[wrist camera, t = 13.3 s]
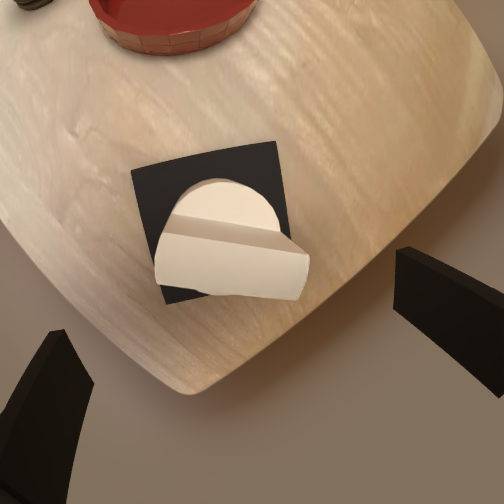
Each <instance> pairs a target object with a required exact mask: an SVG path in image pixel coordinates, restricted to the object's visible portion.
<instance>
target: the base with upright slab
mask: <svg viewBox="0 0 504 504" xmlns="http://www.w3.org/2000/svg"><path fill="white" fill-rule="evenodd" d="M154 261H155V280H156V283H157V284H160V285H167V286H174V287H181V288H188V289H195V290H197V291H199V292H202V293H206V294H210V295H232V294H235V295H244V296H253V297H262V298H271V299H281V300H291V301H297V299H298V298H299V297H300V295H301V292H302V290H303V288H304V285H305V283H306V281H307V276H308V270H309V263H310V258H309V255H308V254H307V253H306V252H305V251H303V250H302V249H301V248H300V247H299V246H297V245H296V244H295V243H294V242H292V241H291V240H290V239H289V238H288V237H286V236H285V235H284V234H283V233H281V232H280V225H279V221H278V218H277V216H276V214H275V212H274V210H273V208H272V207H271V205H270V204H269V203H268V202H267V201H266V199H265V198H264V197H263V196H261V195H260V194H259V193H257V192H256V191H254V190H253V189H251V188H249V187H247V186H245V185H242V184H240V183H237V182H234V181H231V180H228V179H219V178H213V179H208V180H204V181H201V182H199V183H197V184H195V185H193V186H191V187H190V188H189V189H188V190H186V191H185V192H184V193H183V194H182V195H181V196H180V198H179V200H178V201H177V203H176V204H175V206H174V208H173V210H172V212H171V214H170V217H169V219H168V221H167V223H166V225H165V227H164V230H163V232H162V234H161V236H160V239H159V242H158V246H157V250H156V254H155V258H154Z"/></svg>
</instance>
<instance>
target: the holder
mask: <svg viewBox="0 0 504 504" xmlns="http://www.w3.org/2000/svg"><path fill="white" fill-rule="evenodd" d="M131 175H132V180H133V185H134V189H135V194H136V198H137V203H138V207H139V211H140V215H141V219H142V223H143V227H144V231H145V235H146V239H147V242H148V246H149V250H150V253H151V257H152V260H153V264H154V267H155V261H154V258H155V254H156V250H157V246H158V242H159V239H160V236H161V234H162V232H163V230H164V227H165V225H166V223H167V221H168V219H169V217H170V214H171V212H172V210H173V208H174V206H175V204H176V203H177V201H178V200H179V198H180V196H181V195H182V194H183V193H184V192H185V191H186V190H188V189H189V188H190V187H191V186H193V185H195V184H197V183H199V182H201V181H204V180H208V179H213V178H219V179H228V180H231V181H234V182H237V183H240V184H242V185H245V186H247V187H249V188H251V189H253V190H254V191H256V192H257V193H259V194H260V195H261V196H263V197H264V198H265V199H266V201H267V202H268V203H269V204H270V205H271V207H272V208H273V210H274V212H275V214H276V216H277V218H278V221H279V225H280V232H281V233H283V234H284V235H285V236H286V237H288V238H289V239H290V240H291V237H290V229H289V222H288V215H287V208H286V201H285V195H284V188H283V182H282V175H281V169H280V163H279V157H278V151H277V145H276V141H270V142H263V143H256V144H250V145H244V146H238V147H232V148H227V149H221V150H216V151H211V152H206V153H201V154H196V155H191V156H187V157H182V158H178V159H174V160H169V161H165V162H161V163H157V164H153V165H149V166H145V167H142V168H138V169H134V170H131ZM160 287H161V290H162V293H163V296H164V299H165V302H166V304H172V303H176V302H181V301H186V300H190V299H195V298H199V297H204V296H208V295H210V294H206V293H202V292H199V291H197V290H195V289H188V288H181V287H174V286H167V285H160Z"/></svg>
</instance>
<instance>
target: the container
mask: <svg viewBox="0 0 504 504" xmlns="http://www.w3.org/2000/svg"><path fill="white" fill-rule="evenodd" d="M14 1H15V2H16V3H17V5H18V6H19V7H20V8H22V9H27V10H30V9H36V8H39V7H41V6H43V5H45V4H47V3H49V2H50V1H52V0H14Z"/></svg>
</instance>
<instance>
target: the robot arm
mask: <svg viewBox="0 0 504 504" xmlns="http://www.w3.org/2000/svg"><path fill="white" fill-rule="evenodd" d="M393 309H394V310H395V311H396V312H398V313H399V314H400V315H402V316H403V317H404V318H405V319H406V320H408V321H409V322H410V323H411V324H413V325H414V326H415V327H416V328H418V329H419V330H420V331H421V332H422V333H424V334H425V335H426V336H427V337H429V338H430V339H431V340H432V341H433V342H435V343H436V344H437V345H438V346H439V347H441V348H442V349H443V350H444V351H445V352H446V353H448V354H449V355H450V356H451V357H452V358H454V359H455V360H456V361H457V362H458V363H459V364H460V365H462V366H463V367H464V368H465V369H466V370H468V371H469V372H470V373H471V374H472V375H473V376H474V377H475V378H477V379H478V380H479V381H480V382H481V383H482V384H483V385H484V386H486V387H487V388H488V389H489V390H490V391H491V392H492V393H493V394H494V395H495V396H497V397H498V398H500V397H501V396H502V395H503V394H504V294H503V293H501V292H499V291H498V290H496V289H494V288H491V287H489V286H487V285H486V284H484V283H482V282H480V281H478V280H476V279H474V278H473V277H470V276H469V275H467V274H465V273H463V272H461V271H459V270H457V269H455V268H453V267H451V266H449V265H447V264H445V263H443V262H441V261H439V260H437V259H435V258H433V257H431V256H429V255H427V254H425V253H423V252H420V251H418V250H416V249H414V248H412V247H410V246H409V247H405V248H402V249H399V250H396V267H395V288H394V303H393ZM93 386H94V382H93V381H92V379H91V377H90V376H89V374H88V372H87V371H86V369H85V367H84V366H83V364H82V362H81V360H80V358H79V357H78V355H77V353H76V351H75V349H74V348H73V345H72V344H71V342H70V340H69V338H68V336H67V334H66V332H65V330H64V329H62V330H56V331H50V332H49V333H48V335H47V336H46V338H45V339H44V341H43V342H42V344H41V346H40V347H39V349H38V350H37V352H36V354H35V355H34V357H33V359H32V360H31V362H30V363H29V365H28V367H27V369H26V370H25V372H24V374H23V375H22V377H21V379H20V381H19V382H18V384H17V386H16V388H15V390H14V392H13V393H12V395H11V397H10V399H9V401H8V403H7V405H6V407H5V409H4V410H3V412H2V413H1V414H0V504H66V500H67V494H68V488H69V482H70V477H71V471H72V467H73V461H74V457H75V453H76V448H77V444H78V440H79V436H80V432H81V428H82V424H83V421H84V417H85V413H86V410H87V406H88V403H89V399H90V396H91V393H92V389H93Z"/></svg>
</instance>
